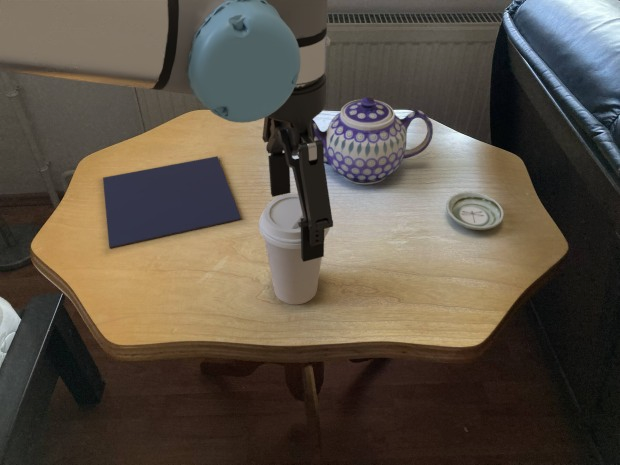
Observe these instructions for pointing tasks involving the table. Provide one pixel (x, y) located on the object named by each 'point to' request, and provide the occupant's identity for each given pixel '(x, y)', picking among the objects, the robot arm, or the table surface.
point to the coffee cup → (288, 251)
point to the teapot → (368, 140)
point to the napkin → (167, 201)
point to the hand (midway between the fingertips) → (295, 223)
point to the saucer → (474, 210)
